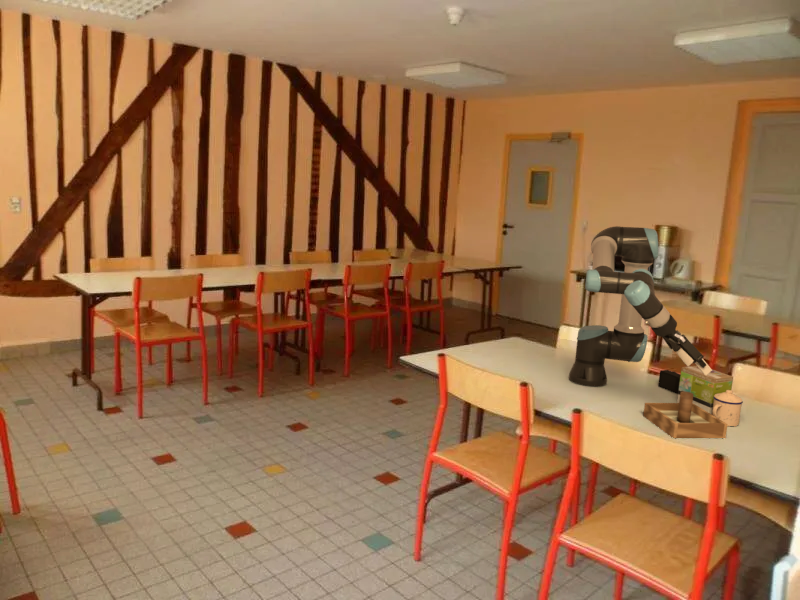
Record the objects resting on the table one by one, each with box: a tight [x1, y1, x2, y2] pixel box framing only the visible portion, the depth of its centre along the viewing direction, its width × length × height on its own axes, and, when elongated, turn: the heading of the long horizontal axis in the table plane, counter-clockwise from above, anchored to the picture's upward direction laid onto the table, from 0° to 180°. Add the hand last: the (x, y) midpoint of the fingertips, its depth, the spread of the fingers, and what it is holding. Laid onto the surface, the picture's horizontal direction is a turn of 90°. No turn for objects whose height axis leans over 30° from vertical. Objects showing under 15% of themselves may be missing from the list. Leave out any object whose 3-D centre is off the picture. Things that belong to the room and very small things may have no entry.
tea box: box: [676, 365, 734, 415], centre depth 230 cm, size 15×10×15 cm
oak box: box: [642, 402, 728, 439], centre depth 211 cm, size 20×18×5 cm
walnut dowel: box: [677, 391, 694, 423], centre depth 211 cm, size 4×4×12 cm
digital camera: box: [657, 369, 681, 395], centre depth 253 cm, size 10×5×7 cm, turn 24°
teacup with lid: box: [712, 389, 744, 427], centre depth 217 cm, size 12×9×12 cm
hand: (699, 367), depth 209 cm, fingers open, 10 cm apart
